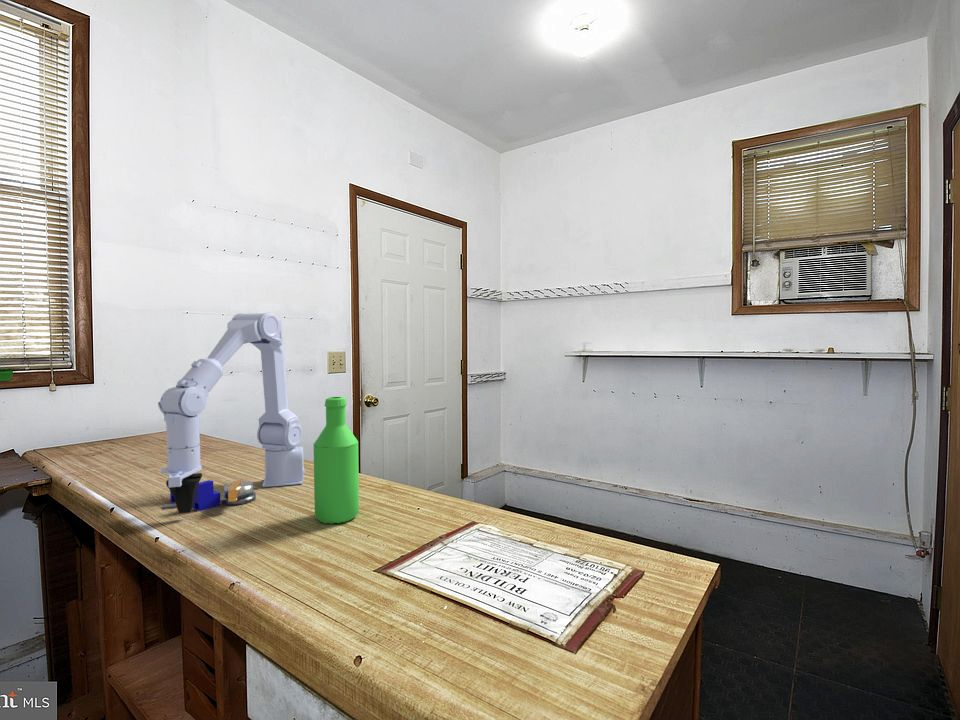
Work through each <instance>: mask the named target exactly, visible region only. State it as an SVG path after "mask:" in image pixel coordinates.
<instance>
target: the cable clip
mask: <svg viewBox="0 0 960 720" xmlns="http://www.w3.org/2000/svg"><path fill="white" fill-rule="evenodd" d="M169 495H170V497H169V498H170V500H169V501H170V502H171V503H176V502H175V499H174V497H173V494H172V492H171V491H170V490H169ZM221 504H222V500H221V492H219V491H216V490H214V480H210V479H209V480H205V481H199V484H198V487H197V490H196V494H195V499H194V504H193V508H192V510H195V511H199V512H202V511H205V510H208V509H212V508H215V507H216V508H217V507H218V506H221Z"/></svg>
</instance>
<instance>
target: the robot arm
mask: <svg viewBox="0 0 960 720" xmlns="http://www.w3.org/2000/svg"><path fill="white" fill-rule="evenodd" d="M244 344H252V345H253V346H254V347H255V348H256V349H258V350H259V351H260V358H261V371H262V384H263V398H264V409H265V410H264V411H265V412H264V413H263V414H262V415H261V416H260V417H259V418H258V426H257V427H258V428H257V431H256V438H257V441H258V443H259V444H260V445H261V447H262V449H264V476H265V477H264V480H263V482H262V485H261V487H262V488H272V487H281V486H293V485H302V484H303V483H304V476H305V474H306V471H305V467H304V447H303V446H298V445H299V444H300V442H301V440H302V438H303V429H302V427H301V425H300V421H299V416H298V415H297V414H295V413H294V412H292V411H291V410H290V409H289V400H288V398H289V396H288V388H287V387H288V384H287V372H286V371H287V370H286V369H287V368H286V355H285V354H286V353H285V342H284V339H283V326H282V320H281V319H280V318H279V317H277V316H276V315H275V314H274V313H272V312H264V313H257V312H256V313H243V312H239V313H236V314H234V315H233V317H232V318H231V320H230V321H228V322H227V329H226V331H225V332H224V334H223V336H222V337H221V338H220V339H219V340H218V342H217V344H216V345H215V346H214V348H213V349H212V351H211V352H210V353H209V355H208V356H207V357H206V358H199V359H198V360H194V361H193V362H192V363H191V364H190V365H191V367H190V369H189V370H188V371H187V372H186V373H185V374H184V375H183V377H182V378H180V379H179V380H178V381H177V384H176V385H175V386H174V387H171V388H168V389H166V390H165V391H164V392H163V393H162V395H161V397H160V401H158V402H157V405H158V409H159V411H160V412H161V413H162V414H163V416H164V417H163V419H164V422H165V426H166V428H165V429H166V453H167V454H166V455H167V467H162V468H161V469H160V474H166V475H167V477H168V479H167V480H166V481H165V485H166V487H167V488H168V489H169V492H170V491H171V492H172V494H173V497H174V499H175V502H176V506H177V508H176V509H177V512H178V514H188V513H191V512H192V511H193V509H192V508H193V504H194V499H195V494H196V490H197V487H198V484H199V483H200V482H201V479H202V478H203V474H202V473H200V471H201V470H203V469H202V468H203V467H202V464H201V442H200V441H201V438H200V436H201V435H200V414H201V413H202V412H203V411H204V410H205V409H206V406H207V398H208V397H209V393H210V392H211V391H212V390H213V388H214V387H215V386H216V384H217V383H218V382H219V380H220V379H221V378H222V377H223V375H224V372H223V367H224V365H225V364H226V363H227V362H228V361H229V360H230V359H231V358H232V357H233V356H234V354H236V353H237V352H238V351H239V349H241V347H242V346H243V345H244ZM198 472H199V473H198Z"/></svg>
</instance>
